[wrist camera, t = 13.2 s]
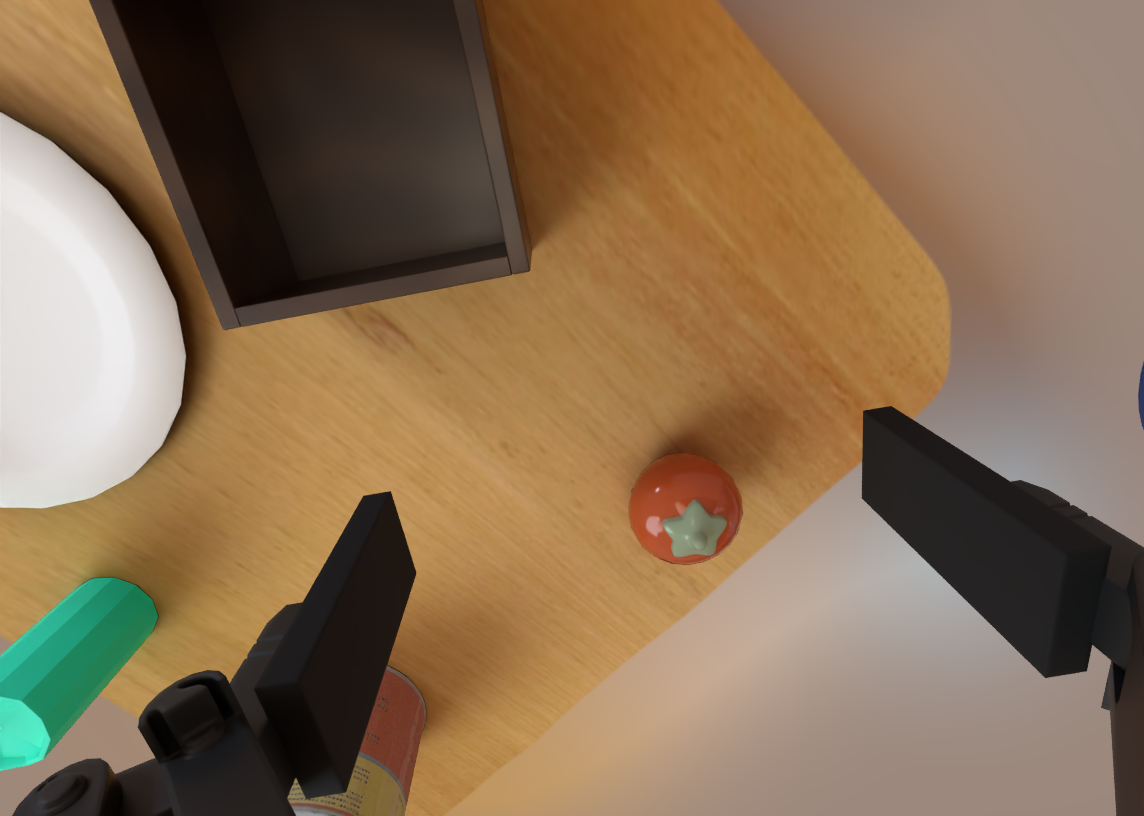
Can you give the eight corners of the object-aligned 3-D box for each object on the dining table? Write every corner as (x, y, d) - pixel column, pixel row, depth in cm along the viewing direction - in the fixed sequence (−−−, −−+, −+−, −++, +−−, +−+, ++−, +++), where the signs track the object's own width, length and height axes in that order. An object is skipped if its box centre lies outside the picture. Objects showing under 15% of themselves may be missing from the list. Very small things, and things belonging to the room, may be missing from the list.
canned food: (256, 717, 48) (170, 881, 37) (341, 634, 45) (277, 782, 34) (369, 780, 51) (322, 948, 40) (454, 706, 48) (429, 863, 37)
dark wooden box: (532, 251, 36) (530, 271, 28) (295, 296, 36) (222, 330, 28) (465, -85, 30) (437, -189, 21) (180, -28, 30) (43, -109, 22)
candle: (53, 589, 42) (-120, 735, 31) (129, 567, 42) (-18, 706, 31) (101, 651, 45) (-46, 808, 33) (173, 630, 44) (50, 782, 33)
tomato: (620, 529, 43) (638, 602, 36) (621, 437, 41) (639, 494, 33) (720, 524, 44) (758, 594, 36) (727, 432, 41) (769, 488, 33)
